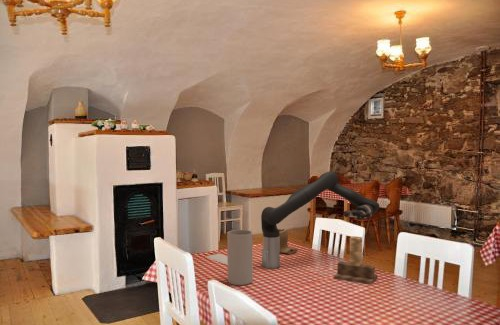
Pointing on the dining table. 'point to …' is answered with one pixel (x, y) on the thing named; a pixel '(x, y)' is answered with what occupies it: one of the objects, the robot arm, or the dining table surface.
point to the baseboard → (219, 258)
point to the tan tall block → (355, 251)
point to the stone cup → (285, 243)
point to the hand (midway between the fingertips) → (353, 216)
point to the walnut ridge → (355, 273)
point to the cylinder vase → (240, 257)
